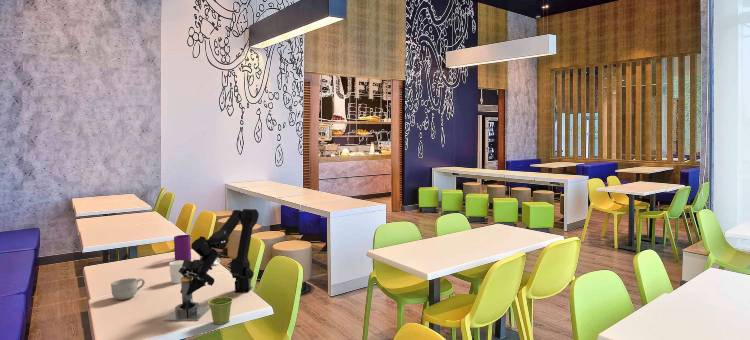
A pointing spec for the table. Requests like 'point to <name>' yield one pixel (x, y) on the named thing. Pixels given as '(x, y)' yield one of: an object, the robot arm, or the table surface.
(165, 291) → the table surface
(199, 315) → the rosette collar
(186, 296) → the copper capped metal cylinder
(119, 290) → the teacup
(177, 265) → the white cup
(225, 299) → the plant pot
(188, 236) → the purple box
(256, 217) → the robot arm
